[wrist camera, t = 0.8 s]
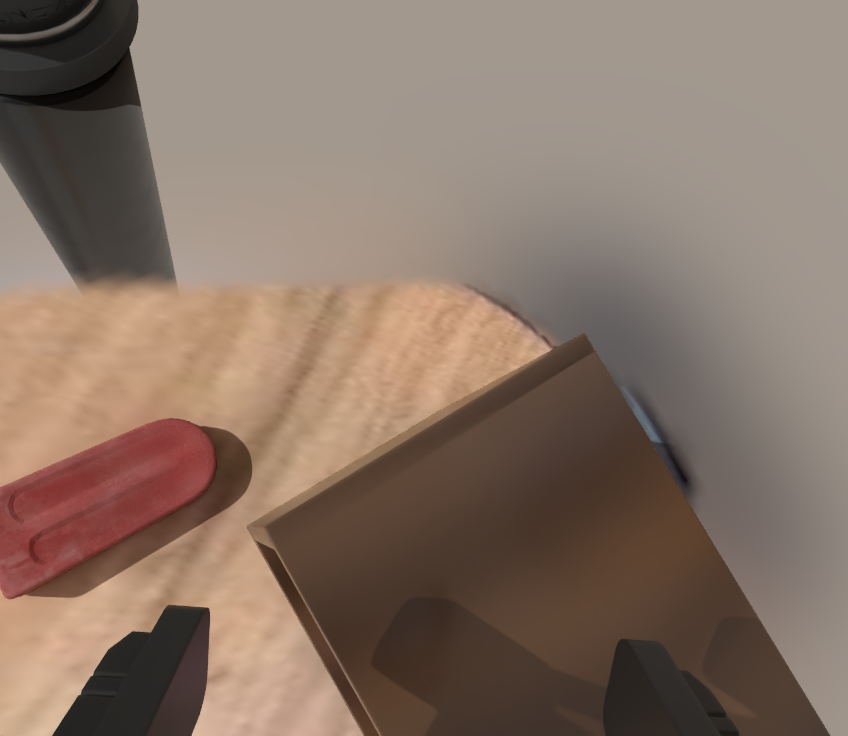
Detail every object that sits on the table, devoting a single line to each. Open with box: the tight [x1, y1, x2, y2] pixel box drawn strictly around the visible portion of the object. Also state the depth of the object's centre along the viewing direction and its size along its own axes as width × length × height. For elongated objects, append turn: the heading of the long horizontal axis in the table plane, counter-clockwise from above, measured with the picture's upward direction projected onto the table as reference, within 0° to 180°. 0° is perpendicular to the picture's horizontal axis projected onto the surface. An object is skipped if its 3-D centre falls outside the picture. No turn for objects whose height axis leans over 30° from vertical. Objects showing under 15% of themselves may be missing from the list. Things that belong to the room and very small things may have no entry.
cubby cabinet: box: [247, 333, 830, 736], centre depth 25 cm, size 19×12×15 cm, turn 32°
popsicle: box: [0, 418, 217, 599], centre depth 28 cm, size 4×2×15 cm
